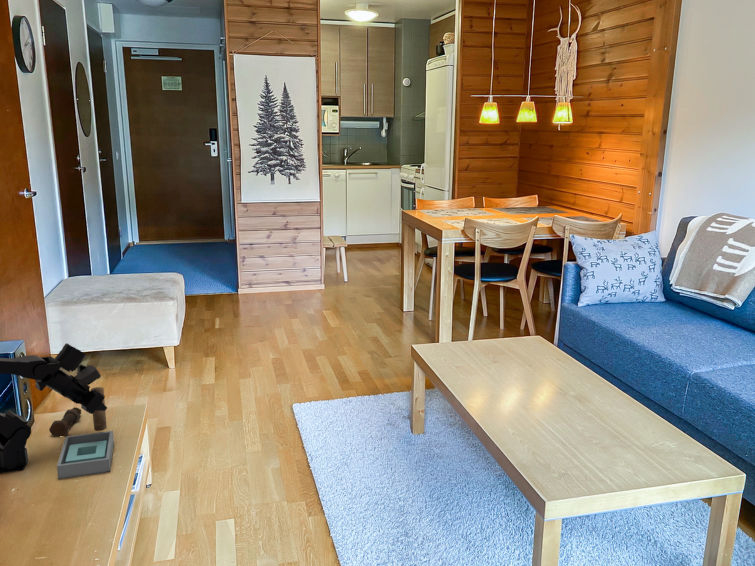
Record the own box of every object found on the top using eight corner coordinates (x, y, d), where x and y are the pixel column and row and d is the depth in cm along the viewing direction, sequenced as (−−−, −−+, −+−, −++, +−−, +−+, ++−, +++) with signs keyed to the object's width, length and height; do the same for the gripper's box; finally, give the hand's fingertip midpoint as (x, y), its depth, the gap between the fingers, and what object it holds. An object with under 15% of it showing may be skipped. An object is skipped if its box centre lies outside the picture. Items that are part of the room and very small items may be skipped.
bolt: (80, 421, 207) (61, 441, 192) (66, 414, 206) (46, 434, 191) (88, 407, 206) (70, 426, 192) (73, 400, 205) (54, 418, 191)
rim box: (58, 479, 169) (56, 466, 168) (67, 448, 185) (65, 436, 184) (109, 472, 173) (108, 459, 172) (113, 442, 189) (112, 430, 188)
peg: (93, 431, 190) (90, 392, 187) (94, 426, 193) (91, 387, 190) (106, 430, 191) (103, 390, 188) (107, 425, 194) (104, 386, 191)
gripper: (95, 368, 178) (134, 393, 188) (68, 353, 190) (106, 377, 200) (69, 402, 174) (110, 425, 184) (43, 383, 186) (83, 406, 196)
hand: (103, 407), depth 191 cm, fingers closed on peg, 4 cm apart
